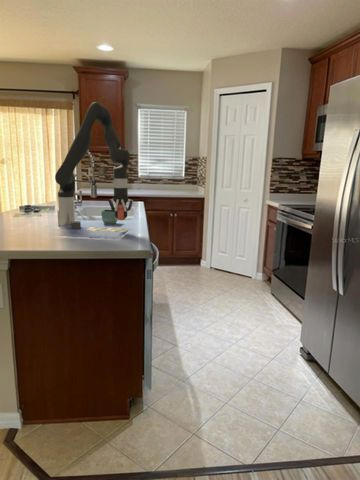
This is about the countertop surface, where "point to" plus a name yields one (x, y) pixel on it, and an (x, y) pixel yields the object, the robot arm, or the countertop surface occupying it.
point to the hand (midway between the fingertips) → (121, 217)
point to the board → (107, 229)
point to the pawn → (120, 212)
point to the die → (75, 224)
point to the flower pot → (109, 217)
